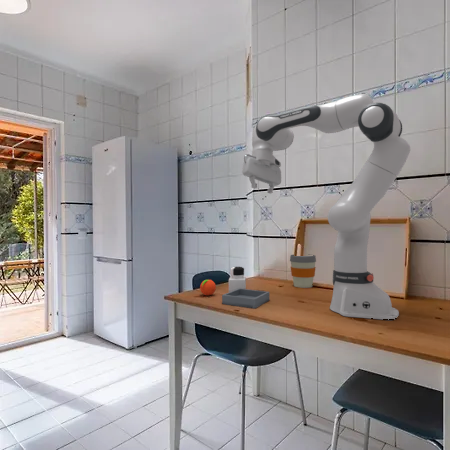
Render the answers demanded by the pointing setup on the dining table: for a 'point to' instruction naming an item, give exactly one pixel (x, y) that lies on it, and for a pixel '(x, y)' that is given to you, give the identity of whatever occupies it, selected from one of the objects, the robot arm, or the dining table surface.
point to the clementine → (207, 287)
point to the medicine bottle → (237, 279)
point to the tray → (245, 298)
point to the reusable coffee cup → (303, 270)
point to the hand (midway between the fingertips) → (262, 190)
